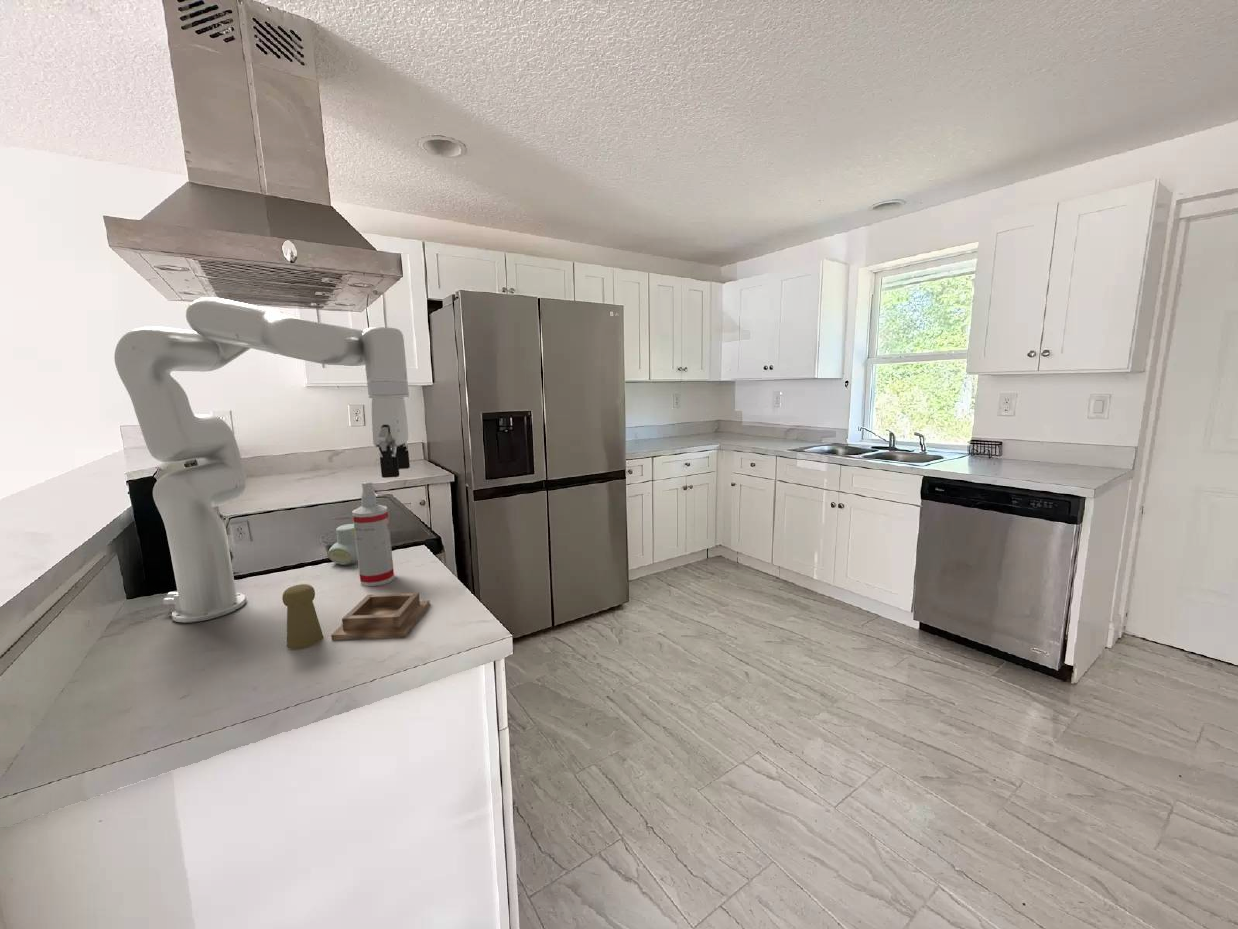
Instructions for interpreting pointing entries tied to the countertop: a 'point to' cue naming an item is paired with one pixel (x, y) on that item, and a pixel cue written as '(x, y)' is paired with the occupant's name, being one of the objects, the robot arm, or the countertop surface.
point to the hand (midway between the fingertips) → (396, 472)
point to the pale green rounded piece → (344, 546)
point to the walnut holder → (382, 617)
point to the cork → (301, 617)
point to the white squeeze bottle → (373, 540)
